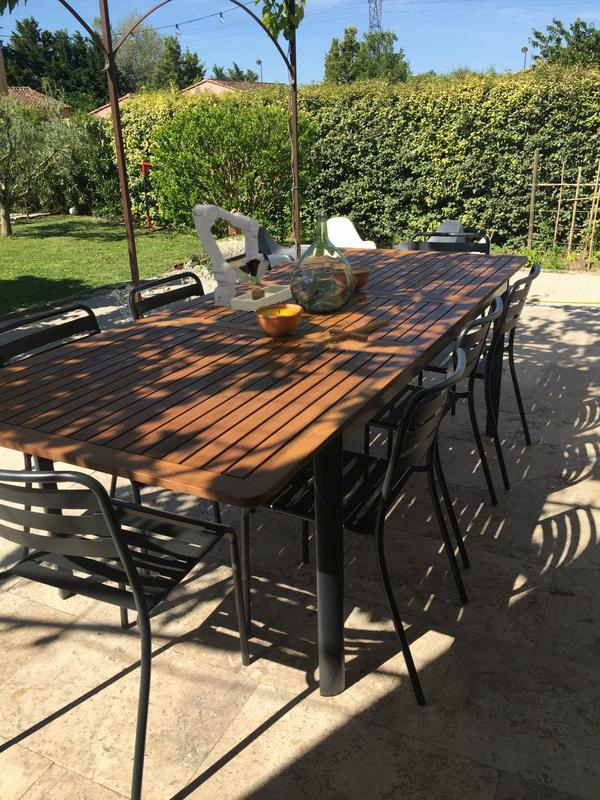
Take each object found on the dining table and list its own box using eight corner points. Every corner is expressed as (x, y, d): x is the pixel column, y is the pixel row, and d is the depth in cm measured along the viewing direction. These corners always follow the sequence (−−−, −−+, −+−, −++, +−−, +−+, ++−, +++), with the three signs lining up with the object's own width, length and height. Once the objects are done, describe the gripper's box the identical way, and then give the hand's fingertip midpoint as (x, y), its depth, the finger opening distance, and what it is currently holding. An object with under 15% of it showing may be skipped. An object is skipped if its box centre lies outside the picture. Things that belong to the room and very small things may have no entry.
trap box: (256, 312, 268) (256, 301, 266) (231, 309, 274) (230, 299, 273) (295, 296, 294) (295, 286, 292) (271, 294, 300) (271, 284, 298)
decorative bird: (279, 269, 325) (265, 250, 313) (278, 284, 320) (263, 266, 308) (238, 281, 334) (223, 263, 323) (236, 296, 329) (221, 279, 318)
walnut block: (260, 300, 277) (259, 291, 275) (252, 300, 279) (251, 290, 277) (265, 298, 280) (264, 289, 279) (257, 298, 282) (256, 289, 280)
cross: (404, 322, 234) (350, 341, 214) (404, 328, 235) (350, 348, 215) (369, 316, 245) (315, 334, 225) (369, 322, 245) (315, 340, 226)
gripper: (249, 248, 280) (252, 279, 285) (267, 244, 292) (269, 274, 297) (236, 248, 284) (239, 279, 289) (254, 243, 295) (257, 273, 300)
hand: (253, 276), depth 293 cm, fingers closed
